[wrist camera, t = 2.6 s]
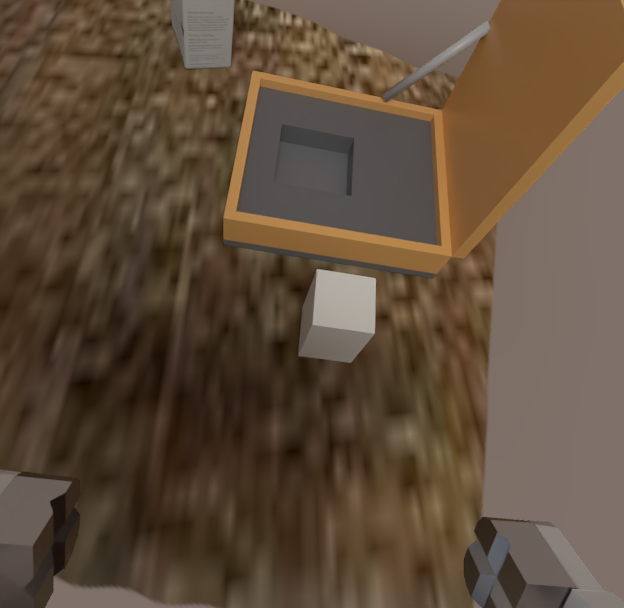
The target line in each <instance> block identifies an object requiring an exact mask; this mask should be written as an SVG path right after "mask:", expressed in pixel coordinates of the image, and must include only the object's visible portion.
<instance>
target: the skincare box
mask: <svg viewBox="0 0 624 608" xmlns="http://www.w3.org/2000/svg"><path fill="white" fill-rule="evenodd" d="M234 2H235V0H171V14H172V26H173V29H174V31H175V33H176V36H177V39H178V42H179V46H180V49H181V53H182V57H183V61H184V66H185V68H187V69H193V68H216V67H230V66H231V56H232V38H233V21H234Z"/></svg>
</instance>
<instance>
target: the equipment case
mask: <svg viewBox="0 0 624 608" xmlns="http://www.w3.org/2000/svg"><path fill="white" fill-rule="evenodd" d="M479 39H480V40H479ZM477 40H479V42H478V44H477V46H476V48H475V50H474V51H473V53H472V56H471V57H470V59H469V61H468V63H467V65H466V66H465V68H464V70H463V72H462V74H461V76H460V77H459V79H458V81H457V83H456V85H455V87H454V89H453V90H452V92H451V94H450V96H449V98H448V100H447V102H446V103H445V105H444V107H443V109H442V110H438V109H433V108H428V107H424V106H419V105H414V104H409V103H405V102H400V101H395V100H391V99H392V98H393V97H395V96H396V95H398V94H399V93H401V92H402V91H404V90H405V89H407V88H408V87H410V86H411V85H413V84H414V83H416V82H417V81H419V80H420V79H421V78H423V77H424V76H426V75H427V74H429V73H430V72H432V71H433V70H435V69H436V68H438V67H439V66H441V65H442V64H443V63H445V62H447V61H448V60H449V59H451V58H452V57H454V56H455V55H457V54H458V53H460V52H461V51H463V50H464V49H466V48H467V47H469V46H470V45H471V44H473V43H475V42H476V41H477ZM623 87H624V0H501V1H500V3H499V5H498V7H497V9H496V11H495V12H494V15H493V16H492V18H491V20H490V22H489V21H486V22H485V23H483V24H482V25H480V26H479V27H478V28H476V29H475V30H473V31H472V32H470V33H469V34H467V35H466V36H465V37H463V38H462V39H460V40H459V41H458V42H456V43H455V44H453V45H452V46H450V47H449V48H448V49H446V50H445V51H443V52H442V53H440V54H439V55H437V56H436V57H435V58H433V59H432V60H431V61H429V62H427V63H426V64H424V65H423V66H422V67H420V68H419V69H417V70H416V71H414V72H413V73H412V74H410V75H409V76H407V77H406V78H404V79H403V80H402V81H400V82H399V83H397V84H396V85H394V86H393V87H392V88H390V89H389V90H387V91H386V92H384V93H383V98H381V97H376V96H371V95H367V94H362V93H357V92H352V91H348V90H343V89H338V88H333V87H329V86H324V85H319V84H315V83H310V82H305V81H300V80H296V79H291V78H286V77H281V76H277V75H272V74H267V73H262V72H258V71H253V72H252V77H251V82H250V87H249V92H248V97H247V102H246V107H245V113H244V118H243V123H242V128H241V133H240V138H239V143H238V148H237V153H236V158H235V163H234V168H233V173H232V178H231V183H230V188H229V193H228V198H227V203H226V208H225V213H224V218H223V245H228V246H234V247H240V248H247V249H253V250H259V251H265V252H272V253H278V254H284V255H290V256H296V257H303V258H309V259H315V260H321V261H328V262H334V263H340V264H346V265H352V266H359V267H365V268H371V269H377V270H383V271H390V272H396V273H402V274H408V275H415V276H421V277H427V278H434V276H435V275H436V274H437V273H438V272H439V271H440V270H441V268H442V267H443V266H444V265H445V264H446V263H447V262H448V261H449V259H450V258H451V257H458V258H465V256H466V255H467V254H468V253H469V252H470V251H471V250H472V249H473V248H474V247H475V246H476V245H477V244H478V243H479V241H480V240H481V239H482V238H483V237H484V236H485V235H486V234H487V233H488V232H489V231H490V230H491V229H492V227H493V226H494V225H495V224H496V223H497V222H498V221H499V220H500V219H501V218H502V217H503V216H504V214H506V212H507V211H508V210H509V209H510V208H511V207H512V206H513V205H514V204H515V203H516V202H517V201H518V200H519V198H520V197H521V196H522V195H523V194H524V193H525V192H526V191H527V190H528V189H529V188H530V187H531V186H532V185H533V183H534V182H535V181H536V180H537V179H538V178H539V177H540V176H541V175H542V174H543V173H544V172H545V171H546V169H547V168H548V167H549V166H550V165H551V164H552V163H553V162H554V161H555V160H556V159H557V158H558V157H559V156H560V154H561V153H562V152H563V151H564V150H565V149H566V148H567V147H568V146H569V145H570V144H571V142H572V141H574V139H575V138H576V137H577V136H578V135H579V134H580V133H581V132H582V131H583V130H584V128H585V127H586V126H587V125H588V124H589V123H590V122H591V121H592V120H593V119H594V118H595V117H596V116H597V115H598V114H599V113H600V111H601V110H602V109H603V108H604V107H605V106H606V105H607V104H608V103H609V102H610V101H611V100H612V98H614V96H615V95H616V94H617V93H618V92H619V91H620V90H621V89H622V88H623Z"/></svg>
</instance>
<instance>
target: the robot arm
mask: <svg viewBox="0 0 624 608" xmlns="http://www.w3.org/2000/svg"><path fill="white" fill-rule="evenodd" d="M79 497H80V480H78V479H77V478H72V477H64V476H55V475H47V474H39V473H30V472H16V471H8V470H0V608H45V606H46V605H47V602H48V600H49V599H50V597H51V595H52V593H53V576H55V575H56V574H58V573H59V572H60V571H62V570H63V569H65V567H66V565H67V563H68V561H69V559H70V557H71V554H72V552H73V549H74V546H75V543H76V539H77V536H78V530H79V524H80V513H79V512H78V511H77V509H76V508H75V507H74V506H75V504H76V502H77V500H78V498H79ZM474 532H475V534H476V536H477V539H478V540H477V541H475V542H474V543H473V544H471V545H470V546H469V547H468V548H467V551H466V554H465V557H464V577H465V582H466V586H467V588H468V591H469V593H470V596H471V598H472V599H473V600H474V601H475V602H476V603H478V604H479V605H480V606H481V607H482V608H624V601H623V600H621V599H620V598H619V597H617V596H615V595H614V594H613V593H612V592H606V591H603V589H602V588H601V587H600V585H599V584H598V583H597V581H596V580H595V579H594V577H593V576H592V575H591V573H590V572H589V570H588V569H587V568H586V566H585V565H584V564H583V562H582V561H581V559H580V558H579V557H578V555H577V554H576V553H575V551H574V550H573V548H572V547H571V546H570V544H569V543H568V542H567V540H566V539H565V538H564V536H563V535H562V533H561V532H560V531H559V529H558V528H557V527H556V526H555V525H553V524H552V523H550V522H541V521H530V520H528V521H524V520H514V519H503V518H491V517H482V518H481V519H480V520H479V521H478V523H477V525H476V527H475V530H474Z"/></svg>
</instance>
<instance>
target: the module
mask: <svg viewBox="0 0 624 608" xmlns="http://www.w3.org/2000/svg"><path fill="white" fill-rule="evenodd" d="M375 296H376V278H371V277H364V276H358V275H352V274H345V273H339V272H333V271H326V270H320V269H317V270H316V273H315V276H314V278H313V281H312V284H311V286H310V289H309V291H308V294H307V297H306V299H305V302H304V304H303V308H302V318H301V329H300V339H299V350H298V356H303V357H311V358H318V359H326V360H333V361H341V362H348V363H351V362H352V361H353V360H354V358H355V357H356V356H357V355H358V353H359V352H360V351H361V350H362V349H363V347H364V346H365V345H366V344H367V343H368V341H369V340H370V339H371V338H372V337H373V335H374V334H375Z"/></svg>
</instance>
